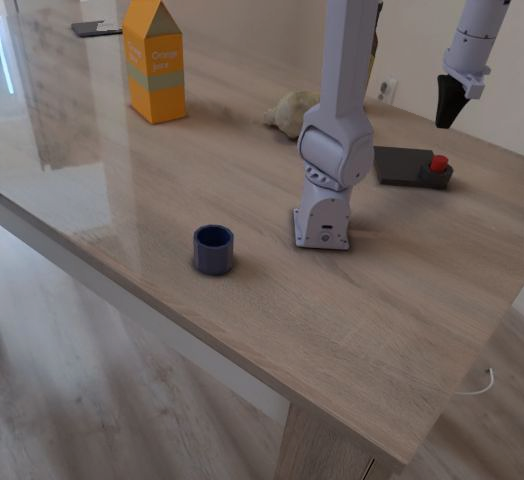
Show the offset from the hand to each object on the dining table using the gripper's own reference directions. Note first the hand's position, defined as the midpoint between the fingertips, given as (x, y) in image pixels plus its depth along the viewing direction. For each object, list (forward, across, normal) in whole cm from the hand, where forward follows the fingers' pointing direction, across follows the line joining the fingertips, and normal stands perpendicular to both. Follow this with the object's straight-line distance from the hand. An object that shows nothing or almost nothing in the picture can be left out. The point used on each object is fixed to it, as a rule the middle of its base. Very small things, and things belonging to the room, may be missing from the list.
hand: (441, 126), depth 79 cm
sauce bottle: (+10, +29, +10) cm, 33 cm away
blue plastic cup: (+10, -26, +36) cm, 45 cm away
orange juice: (+10, +20, +50) cm, 55 cm away
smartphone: (+10, +64, +70) cm, 96 cm away
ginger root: (+10, +17, +20) cm, 28 cm away
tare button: (+8, 0, -2) cm, 8 cm away
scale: (+10, +4, +2) cm, 11 cm away
